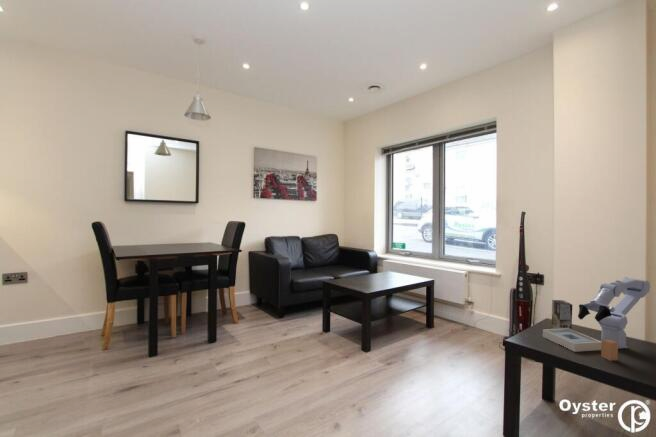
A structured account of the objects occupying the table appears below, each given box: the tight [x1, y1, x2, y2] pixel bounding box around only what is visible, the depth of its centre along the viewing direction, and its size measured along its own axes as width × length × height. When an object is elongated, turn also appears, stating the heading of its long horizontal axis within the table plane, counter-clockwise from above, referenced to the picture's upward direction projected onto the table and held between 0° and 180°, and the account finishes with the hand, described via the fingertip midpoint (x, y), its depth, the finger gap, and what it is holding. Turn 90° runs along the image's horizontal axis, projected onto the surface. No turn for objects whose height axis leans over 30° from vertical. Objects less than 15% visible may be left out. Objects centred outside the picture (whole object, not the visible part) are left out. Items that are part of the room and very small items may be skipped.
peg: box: [600, 339, 619, 362], centre depth 143 cm, size 4×4×8 cm
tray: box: [542, 328, 602, 353], centre depth 160 cm, size 16×18×4 cm
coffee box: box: [551, 299, 573, 330], centre depth 178 cm, size 9×6×16 cm
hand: (587, 318), depth 149 cm, fingers open, 7 cm apart
